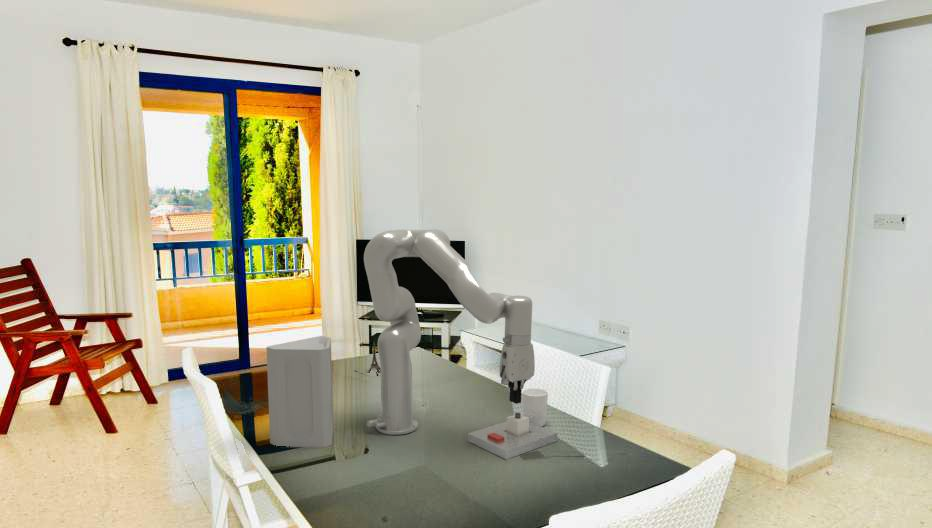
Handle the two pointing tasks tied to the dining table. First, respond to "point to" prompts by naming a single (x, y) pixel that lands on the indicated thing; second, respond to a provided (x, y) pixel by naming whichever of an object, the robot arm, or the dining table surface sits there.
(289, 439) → the paper bag
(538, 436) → the socket plate
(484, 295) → the robot arm
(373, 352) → the eiffel tower figurine
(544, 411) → the white cup
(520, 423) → the plug
